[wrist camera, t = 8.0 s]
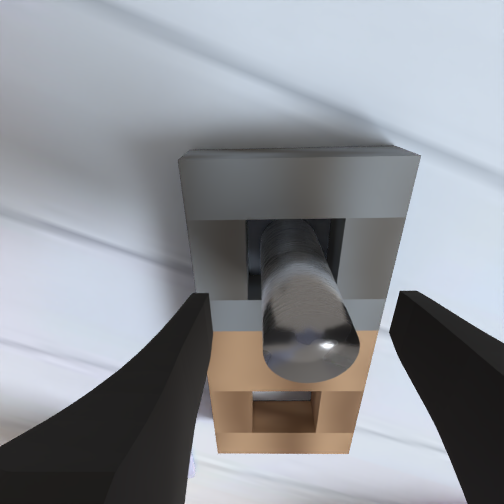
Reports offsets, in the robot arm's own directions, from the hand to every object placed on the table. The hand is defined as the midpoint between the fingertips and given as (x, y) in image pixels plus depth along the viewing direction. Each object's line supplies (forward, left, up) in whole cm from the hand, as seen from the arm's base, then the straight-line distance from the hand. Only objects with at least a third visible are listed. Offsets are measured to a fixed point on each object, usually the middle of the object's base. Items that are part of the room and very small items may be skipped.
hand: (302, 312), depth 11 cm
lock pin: (0, 0, -6) cm, 6 cm away
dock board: (0, -6, -6) cm, 9 cm away
